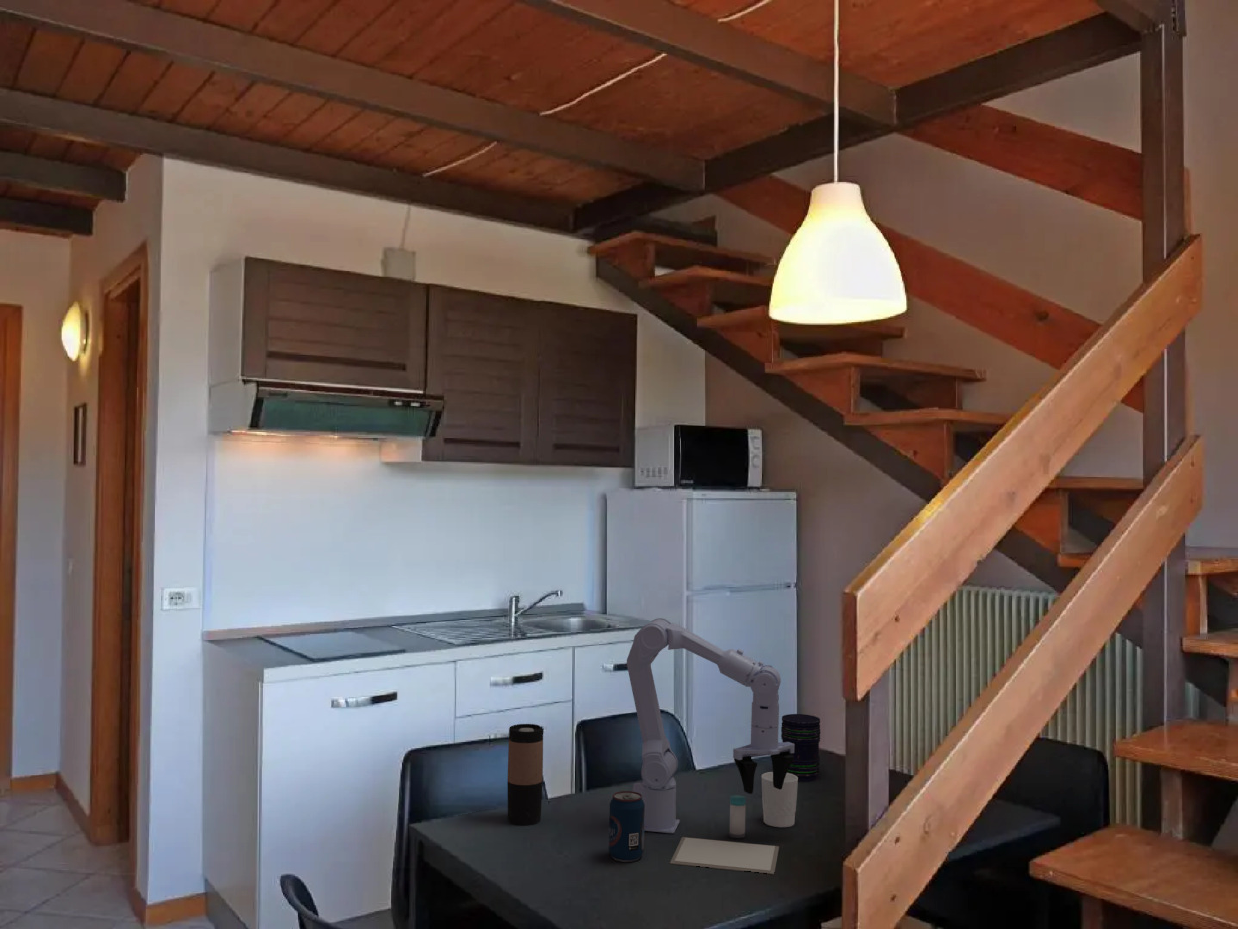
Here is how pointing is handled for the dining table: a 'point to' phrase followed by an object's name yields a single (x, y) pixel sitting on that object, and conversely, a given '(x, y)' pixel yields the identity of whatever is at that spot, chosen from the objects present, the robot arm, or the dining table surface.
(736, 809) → the marker
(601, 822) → the dining table surface
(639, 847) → the soda can
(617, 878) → the dining table surface
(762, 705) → the robot arm
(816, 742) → the storage jar
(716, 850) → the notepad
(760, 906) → the dining table surface
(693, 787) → the dining table surface
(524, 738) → the travel mug
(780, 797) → the white cup
